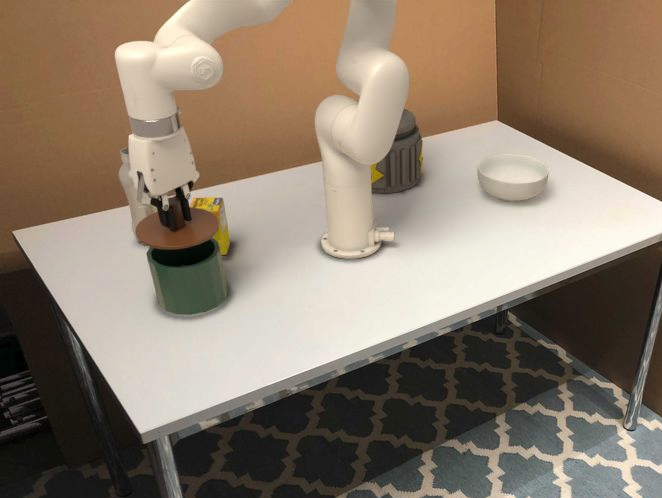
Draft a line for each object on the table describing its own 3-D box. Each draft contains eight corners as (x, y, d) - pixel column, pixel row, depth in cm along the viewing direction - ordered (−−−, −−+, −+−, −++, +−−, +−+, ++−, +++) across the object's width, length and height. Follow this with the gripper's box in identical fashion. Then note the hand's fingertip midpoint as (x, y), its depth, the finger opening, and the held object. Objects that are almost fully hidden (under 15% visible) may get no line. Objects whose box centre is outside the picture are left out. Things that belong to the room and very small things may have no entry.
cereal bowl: (557, 191, 187) (561, 164, 183) (525, 218, 176) (527, 190, 171) (498, 172, 194) (500, 146, 189) (462, 197, 183) (464, 169, 178)
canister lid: (227, 213, 143) (222, 183, 139) (209, 253, 132) (203, 221, 128) (150, 211, 142) (143, 181, 139) (125, 251, 131) (116, 219, 127)
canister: (234, 280, 151) (225, 233, 145) (219, 317, 142) (210, 269, 135) (169, 278, 151) (158, 232, 144) (150, 316, 141) (137, 268, 134)
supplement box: (202, 243, 162) (193, 196, 155) (231, 243, 162) (223, 196, 155) (197, 258, 157) (187, 211, 150) (227, 258, 157) (218, 211, 151)
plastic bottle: (159, 249, 159) (137, 159, 147) (129, 244, 160) (104, 155, 147) (174, 234, 164) (154, 145, 152) (145, 230, 165) (123, 141, 152)
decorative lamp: (356, 158, 197) (350, 37, 178) (428, 165, 196) (429, 44, 177) (336, 191, 182) (327, 63, 164) (414, 199, 181) (414, 71, 162)
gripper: (177, 103, 132) (196, 199, 143) (97, 133, 120) (124, 235, 132) (209, 113, 129) (225, 210, 140) (130, 145, 118) (155, 248, 129)
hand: (176, 222), depth 136 cm, fingers closed on canister lid, 2 cm apart
